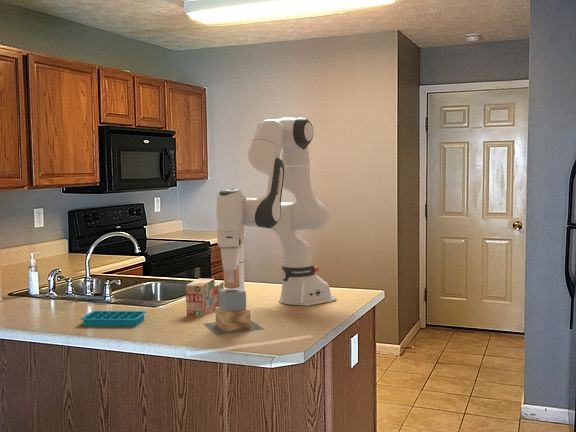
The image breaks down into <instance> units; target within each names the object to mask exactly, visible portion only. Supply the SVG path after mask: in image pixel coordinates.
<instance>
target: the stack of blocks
mask: <svg viewBox="0 0 576 432" xmlns="http://www.w3.org/2000/svg"><path fill="white" fill-rule="evenodd" d="M221 289H225V287H224V281H215V278H201V277H200V278H198V279H196V280H193V281H191V282H189V283H187V284H186V285H185V300H186V301H185V303H186V317H187V318H188V317H195V316H196V317H204V316H205V315H211V313H212V314H213V313H215V307H219V290H221Z"/></svg>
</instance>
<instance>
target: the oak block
mask: <svg viewBox="0 0 576 432" xmlns="http://www.w3.org/2000/svg"><path fill="white" fill-rule="evenodd" d="M214 314H215V322H216V325H217V326H218V327H219V328H221V329H222V330H223V331H231V330H238V329H246V328H251V325H250V320H251V310H250V309H249V308H248V307H246V310H239V311H230V312H225V311H224V310H222V309H221V308H219V307H215V311H214Z"/></svg>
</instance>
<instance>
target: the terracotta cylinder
mask: <svg viewBox="0 0 576 432" xmlns="http://www.w3.org/2000/svg"><path fill="white" fill-rule="evenodd" d="M223 287H224V289H227V288H238V287H240V283H239V268H236V269H235V271H234V282H233V283H229V282H228V275H227V271H224V270H223Z"/></svg>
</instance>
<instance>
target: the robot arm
mask: <svg viewBox="0 0 576 432" xmlns="http://www.w3.org/2000/svg"><path fill="white" fill-rule="evenodd" d="M313 138H314V126H313V124H312V123H311V121H310V120H309V119H308V118H306V117H305V118H304V117H282V118H276V119H275V118H274V119H273V118H272V119H265V120H263V121H261V122H260V123H259V124H258V126H257V128H256V131H255V133H254V134H253V138H252V139H251V142H250V145H249V147H248V153H247V158H248V161H249V164H250V165H251V166H252V167H253V168H254V169H255V170H256V171H257V172H260V173H261V174H264V175H266V176H268V181H267V188H266V194H265V195H264V196H262V197H247V196H245V195H243V194H242V190H241V189H239V188H236V187H234V188H225V189H222V190H221V191H219V192H218V194H217V197H216V210H215V211H216V214H215V215H216V219H217V227H216V240H217V241H216V242H217V243H216V244H217V246H218V248H220V256H221V262H222V269H223V272H224V271H227V275H228V282H229V283H233V282H234V271H235V269H236V266H237V263H238V260H239V255H238V249H240V248H241V244H243V245H244V244H245V227H255V228H256V227H257V228H263V229H270V230H272V231H273V233H274V234H275V235H276V237H277V238H278V240H279V243H280V245H281V254H282V257H281V258H282V265H281V280H282V281H281V282H282V283H281V284H282V285H281V293H280V297H279V303H281V304H286V305H291V306H294V305H295V306H304V307H308V306H309V307H310V306H313V305H318V304H323V303H325V304H326V303H331V302H336V301H337V296H336V295H335V294H332V293H331V289H330V285H329V283H328V282H326V281H325V280H324V279H322V277H320V276H319V275H317V273H320V267H319V266H318V265H317V266H316V265H315V266H314V265H313V264H312V251H311V249H312V248H311V245H310V244H309V243H308V242H307V240H304V239H303V238H301V237H299V235H298V234H297V231H319V230H322V229H325V228H326V226H327V225H328V222H329V219H330V213H329V210H328V208H327V206H326V205H325V204H324V203H322V202H321V201H320V200H319V199H318V198H317V196H316V195H315V194H314V193H315V192H314V190H313V188H312V183H311V182H312V181H311V170H310V169H311V166H310V165H311V164H310V163H311V161H310V151H309V145H310V144H311V142H312V141H313ZM283 189H284V190H285V191H286V192H288V193H290V194H293V196H294V197H295V201H282V195H283ZM316 272H317V273H316Z"/></svg>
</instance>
